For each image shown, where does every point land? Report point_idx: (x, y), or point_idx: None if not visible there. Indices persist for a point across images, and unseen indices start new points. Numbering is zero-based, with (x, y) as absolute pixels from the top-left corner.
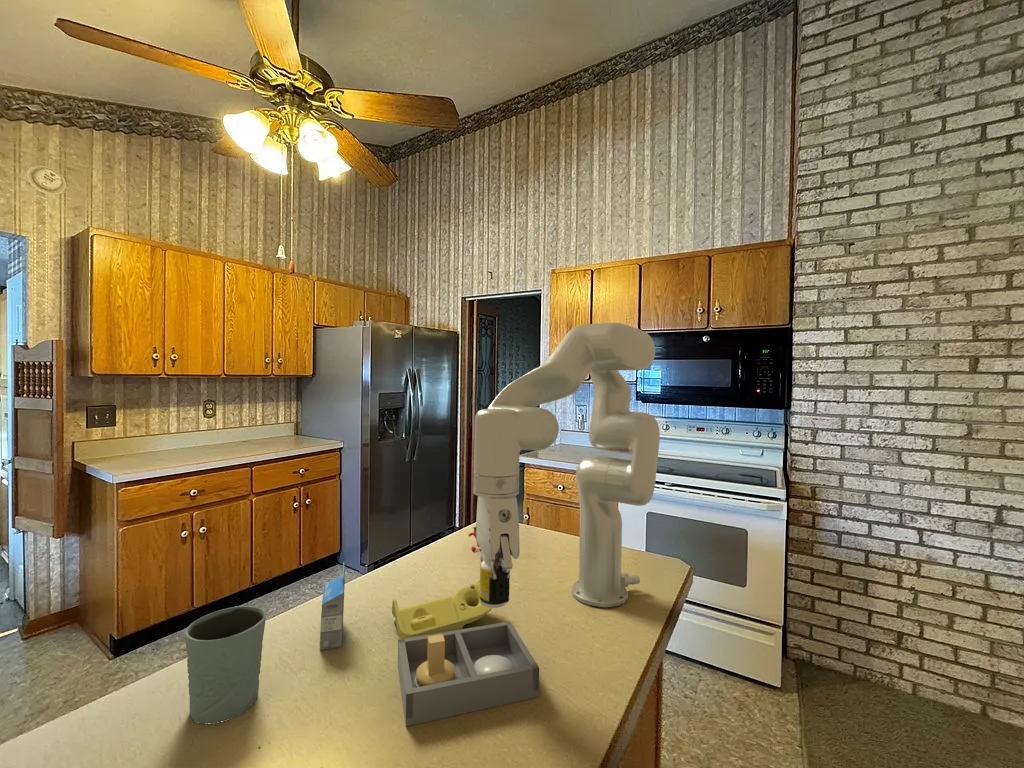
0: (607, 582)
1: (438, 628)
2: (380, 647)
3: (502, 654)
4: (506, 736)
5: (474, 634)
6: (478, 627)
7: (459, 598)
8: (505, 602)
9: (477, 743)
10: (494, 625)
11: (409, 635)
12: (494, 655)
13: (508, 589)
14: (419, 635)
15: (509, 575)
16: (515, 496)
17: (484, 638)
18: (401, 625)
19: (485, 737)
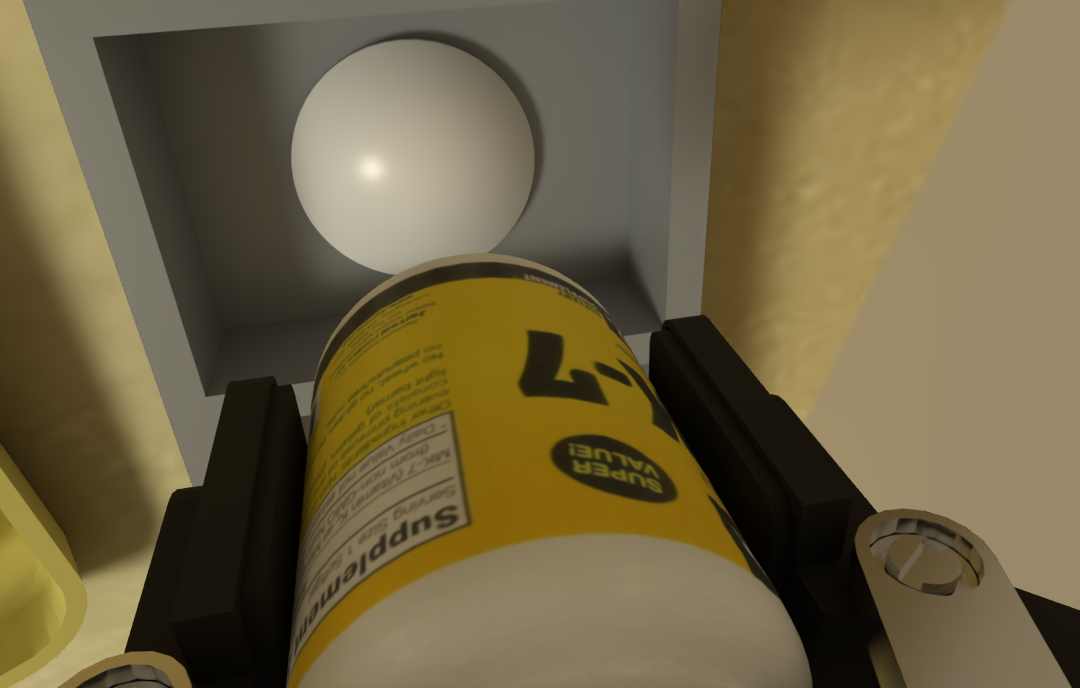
0: None
1: (4, 471)
2: (101, 652)
3: (265, 72)
4: (824, 166)
5: (182, 294)
6: (131, 276)
7: None
8: (603, 310)
9: (807, 281)
10: (100, 149)
11: (83, 595)
12: (298, 139)
13: (755, 390)
14: (62, 546)
15: (981, 552)
16: None
17: (168, 207)
18: (28, 663)
19: (793, 249)
